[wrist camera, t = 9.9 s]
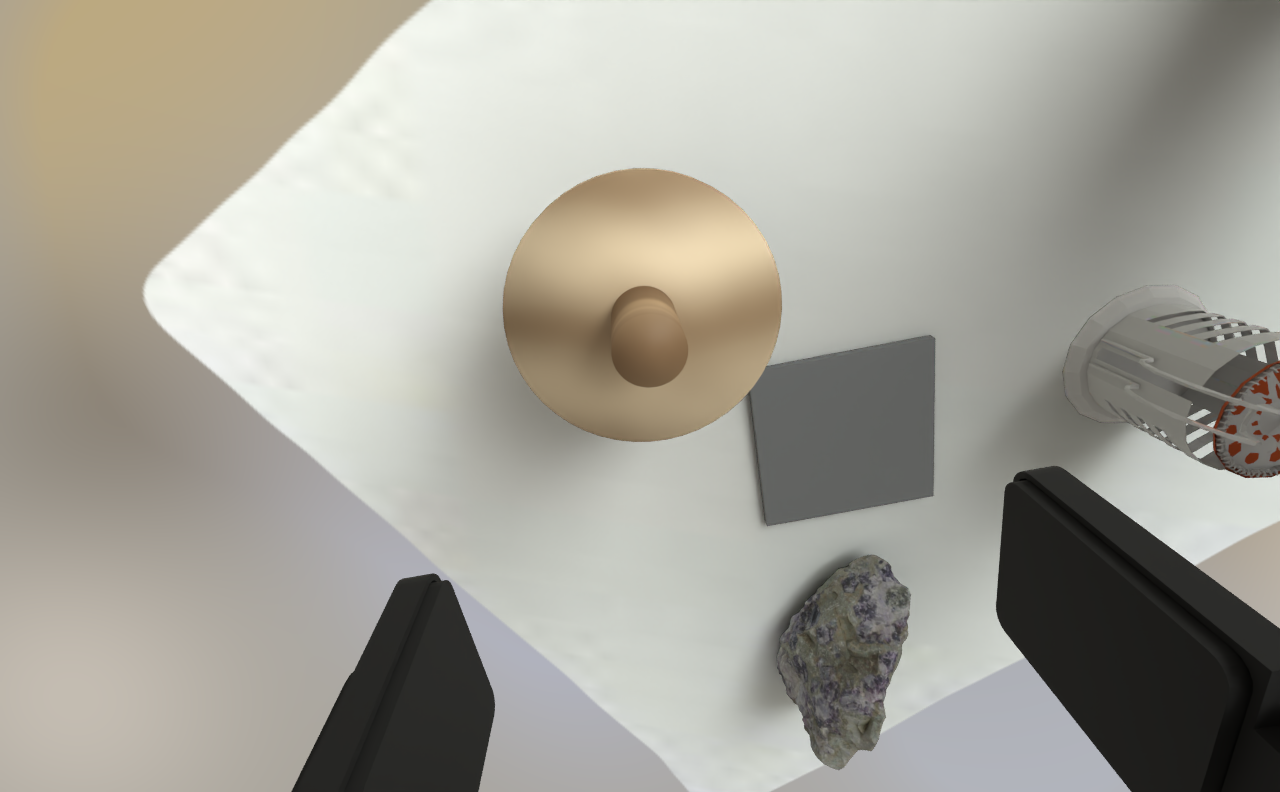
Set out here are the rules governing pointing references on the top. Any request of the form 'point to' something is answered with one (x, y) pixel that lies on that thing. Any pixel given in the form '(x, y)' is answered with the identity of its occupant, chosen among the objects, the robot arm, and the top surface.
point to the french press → (1180, 377)
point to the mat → (846, 430)
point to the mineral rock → (845, 657)
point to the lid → (642, 305)
